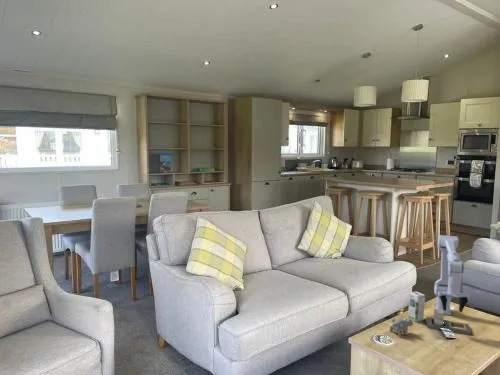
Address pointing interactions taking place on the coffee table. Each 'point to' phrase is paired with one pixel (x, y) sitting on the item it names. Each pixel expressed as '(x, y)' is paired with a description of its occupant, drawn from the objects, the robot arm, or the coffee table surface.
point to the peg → (438, 317)
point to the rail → (449, 326)
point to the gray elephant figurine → (401, 325)
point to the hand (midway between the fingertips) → (452, 310)
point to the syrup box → (416, 306)
